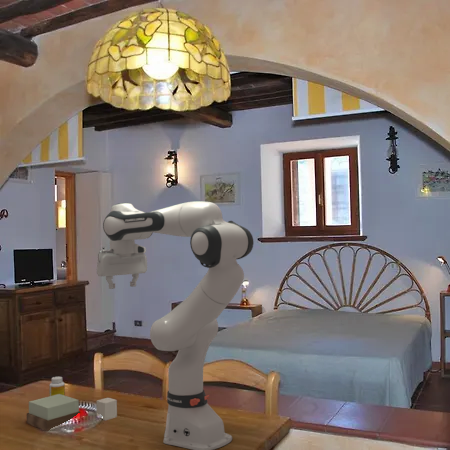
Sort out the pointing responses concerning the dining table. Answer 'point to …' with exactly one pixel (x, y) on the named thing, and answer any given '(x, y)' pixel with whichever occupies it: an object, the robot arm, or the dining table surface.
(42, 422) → the tower base
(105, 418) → the cream block
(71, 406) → the tower top
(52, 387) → the supplement bottle
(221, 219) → the robot arm
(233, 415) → the dining table surface
